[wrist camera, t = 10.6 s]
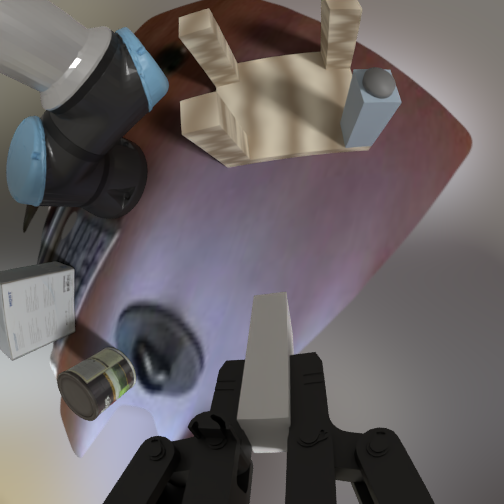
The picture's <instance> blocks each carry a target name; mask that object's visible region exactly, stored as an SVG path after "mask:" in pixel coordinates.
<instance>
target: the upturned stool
mask: <svg viewBox="0 0 504 504" xmlns="http://www.w3.org/2000/svg"><path fill="white" fill-rule="evenodd" d="M361 14H362V8H361V6H360V4H359V2H358V1H357V0H321V52H311V53H300V54H292V55H284V56H277V57H270V58H264V59H258V60H253V61H248V62H243V63H238V64H237V62H236V60H235V58H234V56H233V54H232V52H231V50H230V48H229V46H228V44H227V42H226V40H225V38H224V36H223V34H222V32H221V30H220V28H219V26H218V24H217V22H216V21H215V19H214V17H213V15H212V13H211V11H210V9H205V10H202V11H199V12H195V13H192V14H189V15H186V16H183V17H180V18H179V38H180V39H181V40H182V42H183V43H184V44H185V46H186V47H187V48H188V50H189V51H190V52H191V54H192V55H193V56H194V58H195V59H196V60H197V62H198V63H199V64H200V66H201V67H202V68H203V70H204V71H205V72H206V74H207V75H208V77H209V78H210V79H211V81H212V82H213V84H214V85H215V86H216V91H217V92H212V93H208V94H204V95H200V96H197V97H193V98H190V99H186V100H183V101H180V111H181V130H182V135H183V136H185V137H186V138H188V139H189V140H190V141H192V142H193V143H195V144H196V145H197V146H199V147H200V148H202V149H203V150H204V151H206V152H207V153H209V154H210V155H211V156H213V157H214V158H215V159H217V160H218V161H220V162H221V163H222V164H224V165H225V166H226V167H234V166H240V165H245V164H251V163H257V162H264V161H270V160H277V159H284V158H292V157H300V156H308V155H317V154H327V153H337V152H349V151H362V150H369V148H370V147H371V146H366V147H351V148H345V144H344V139H343V134H342V130H341V125H340V121H341V118H342V114H343V110H344V106H345V103H346V99H347V95H348V91H349V87H350V83H351V79H352V73H351V70H350V66H351V62H352V57H353V53H354V48H355V44H356V39H357V34H358V29H359V24H360V19H361Z"/></svg>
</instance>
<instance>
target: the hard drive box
mask: <svg viewBox="0 0 504 504" xmlns="http://www.w3.org/2000/svg"><path fill="white" fill-rule="evenodd" d="M74 332H75V314H74V269H73V267H70V266H67V265H65V264H62V263H59V262H56V261H54V262H49V263H43V264H38V265H32V266H27V267H21V268H16V269H10V270H5V271H0V349H1V350H2V351H3V352H4V353H5V354H6V355H7V356H8V357H9V358H10V359H11V360H12V361H13V360H15V359H18V358H20V357H22V356H24V355H26V354H28V353H30V352H33V351H35V350H37V349H39V348H41V347H43V346H46V345H48V344H50V343H52V342H54V341H56V340H58V339H61V338H63V337H65V336H67V335H69V334H71V333H74Z"/></svg>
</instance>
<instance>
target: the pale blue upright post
mask: <svg viewBox="0 0 504 504" xmlns="http://www.w3.org/2000/svg"><path fill="white" fill-rule="evenodd" d="M400 104H401V99H400V96H399V93H398V90H397V87H396V84H395V80H394V78H393V76H392V74H391V71H390V70H384V69H381V68H376V67H375V68H370V69H359V70H354V71H353V75H352V79H351V83H350V87H349V91H348V95H347V99H346V103H345V106H344V110H343V114H342V118H341V121H340V125H341V130H342V134H343V139H344V144H345V148H351V147H366V146H372V144H373V143H374V142H375V140H376V139H377V137H378V136H379V134H380V133H381V132H382V130H383V129H384V127H385V126H386V124H387V123H388V121H389V120H390V119H391V117H392V116H393V114H394V113H395V111H396V110H397V108H398V107H399V105H400Z"/></svg>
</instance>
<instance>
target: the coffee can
mask: <svg viewBox="0 0 504 504" xmlns="http://www.w3.org/2000/svg"><path fill="white" fill-rule="evenodd" d="M135 382H136V374H135V370H134V368H133V365H132V364H131V362H130V361H129V359H128V358H127V357H126V356H125V355H124V354H123V353H122V352H120V351H119V350H117V349H115V348H111V347H109V348H104V349H103V350H102V351H100V352H98V353H97V354H95V355H93V356H91V357H90V358H88V359H86V360H84V361H83V362H81V363H79V364H77V365H76V366H74V367H72V368H70V369H69V370H67V371H64V372H62V373H60V374H59V375H58V378H57V383H58V388H59V391H60V393H61V396H62V398H63V399H64V401H65V402H66V404H67V405H68V407H69V408H70V409H71V410H72V411H73V412H74V413H75V414H76V415H78V416H79V417H81V418H83V419H85V420H88V421H93V420H95V419H96V418H97V417H98V415H99V414H101V413H102V412H103V411H104V410H105V409H107V408H108V407H109V406H110V405H111V404H113V403H114V402H115V401H116V400H117V399H118V398H120V397H121V396H122V395H123V394H124V393H125V392H127V391H128V390H129V389H130V388H132V387H133V386H134V384H135Z"/></svg>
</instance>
